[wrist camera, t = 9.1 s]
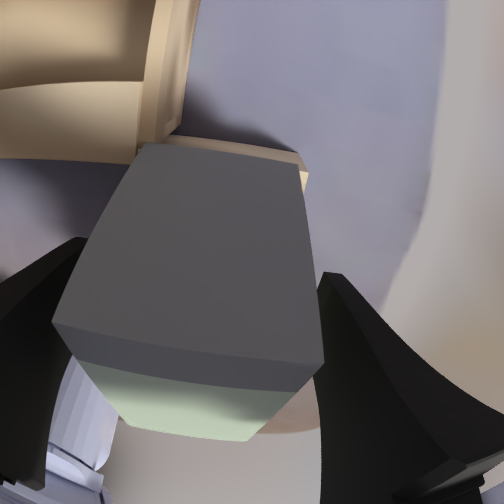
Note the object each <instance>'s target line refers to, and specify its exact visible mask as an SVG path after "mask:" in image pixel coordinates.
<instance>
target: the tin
mask: <svg viewBox="0 0 504 504" xmlns="http://www.w3.org/2000/svg"><path fill="white" fill-rule="evenodd" d="M51 322H52V323H53V325H54V327H55V328H56V330H57V331H58V333H59V335H60V336H61V338H62V339H63V341H64V342H65V344H66V345H67V347H68V348H69V350H70V351H71V353H72V354H73V356H74V357H75V358H76V360H77V361H78V363H79V364H80V365H81V367H82V368H83V370H84V371H85V372H86V374H87V375H88V376H89V378H90V379H91V380H92V382H93V383H94V384H95V386H96V387H97V388H98V389H99V391H100V392H101V393H102V394H103V396H104V397H105V398H106V399H107V401H108V402H109V403H110V404H111V405H112V407H113V408H114V409H115V410H116V411H117V413H118V414H119V415H120V416H121V417H122V418H123V420H124V421H125V422H126V423H127V424H128V425H129V426H134V427H139V428H144V429H149V430H154V431H159V432H165V433H171V434H178V435H185V436H192V437H200V438H208V439H217V440H228V441H243V442H246V441H247V440H248V439H249V438H250V437H251V436H253V435H254V434H255V433H256V432H257V431H258V430H259V429H260V428H261V427H262V426H263V425H264V424H265V423H267V422H268V421H269V420H270V419H271V418H272V417H273V416H274V415H275V414H276V413H277V412H278V411H279V410H280V409H281V408H282V407H283V406H284V405H285V404H286V403H287V402H288V401H289V400H290V399H291V398H292V397H293V396H294V395H295V394H296V393H297V392H298V391H299V390H300V389H301V388H302V387H303V386H304V385H305V384H306V382H307V381H308V380H309V379H310V378H311V377H312V376H313V375H314V374H315V373H316V372H317V371H318V370H319V368H320V367H321V366H322V365H323V364H324V353H323V342H322V332H321V322H320V313H319V304H318V296H317V287H316V279H315V271H314V264H313V256H312V249H311V242H310V235H309V228H308V221H307V215H306V209H305V202H304V196H303V190H302V184H301V178H300V172H299V167H298V164H293V163H288V162H283V161H278V160H272V159H267V158H261V157H255V156H249V155H243V154H237V153H230V152H223V151H216V150H209V149H202V148H194V147H186V146H177V145H168V144H158V143H148V142H145V144H144V145H143V147H142V148H141V150H140V151H139V153H138V154H137V156H136V158H135V159H134V161H133V162H132V164H131V165H130V167H129V169H128V170H127V172H126V173H125V175H124V177H123V178H122V180H121V182H120V183H119V185H118V187H117V188H116V190H115V192H114V193H113V195H112V197H111V199H110V200H109V202H108V204H107V206H106V207H105V209H104V211H103V213H102V215H101V216H100V218H99V220H98V222H97V224H96V226H95V228H94V229H93V231H92V233H91V235H90V237H89V239H88V241H87V243H86V245H85V247H84V249H83V251H82V253H81V255H80V257H79V259H78V261H77V263H76V266H75V268H74V270H73V272H72V274H71V276H70V279H69V281H68V283H67V285H66V288H65V290H64V292H63V294H62V297H61V299H60V302H59V304H58V306H57V309H56V311H55V314H54V316H53V319H52V321H51Z"/></svg>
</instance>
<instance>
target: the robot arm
mask: <svg viewBox="0 0 504 504" xmlns="http://www.w3.org/2000/svg"><path fill="white" fill-rule="evenodd" d="M87 241H88V238H82V237H75V238H73V239H71V240H69V241H67V242H65V243H64V244H62V245H60V246H59V247H57V248H55V249H54V250H52V251H51V252H49V253H47V254H46V255H44V256H43V257H41V258H40V259H38V260H36V261H35V262H33V263H32V264H30V265H29V266H27V267H26V268H24V269H22V270H21V271H19V272H18V273H16V274H14V275H13V276H11V277H10V278H8V279H6V280H5V281H3V282H2V283H0V504H114V502H113V501H112V498H111V496H110V493H109V492H108V490H107V489H106V488H104V487H103V486H102V482H103V477H104V476H103V475H101V474H99V473H97V472H95V471H96V470H98V469H99V468H100V467H101V466H102V465H103V464H104V463H105V462H106V460H107V458H108V456H109V453H110V449H111V445H112V441H113V436H114V432H115V428H116V424H117V420H118V416H119V414H118V413H117V411H116V410H115V409H114V408H113V407H112V405H111V404H110V403H109V402H108V401H107V399H106V398H105V397H104V396H103V394H102V393H101V392H100V391H99V389H98V388H97V387H96V386H95V384H94V383H93V382H92V380H91V379H90V378H89V376H88V375H87V374H86V372H85V371H84V370H83V368H82V367H81V365H80V364H79V363H78V361H77V360H76V358H75V357H74V356H73V354H72V353H71V351H70V350H69V348H68V347H67V345H66V344H65V342H64V341H63V339H62V338H61V336H60V335H59V333H58V331H57V330H56V328H55V327H54V325H53V323H52V322H51V321H52V319H53V316H54V314H55V311H56V309H57V306H58V304H59V302H60V299H61V297H62V294H63V292H64V290H65V288H66V285H67V283H68V281H69V279H70V276H71V274H72V272H73V270H74V268H75V266H76V263H77V261H78V259H79V257H80V255H81V253H82V251H83V249H84V247H85V245H86V243H87ZM317 296H318V304H319V313H320V322H321V332H322V342H323V353H324V364H323V365H322V366H321V367H320V368H319V370H318V371H317V372H316V373H315V374H314V375H313V380H314V385H315V390H316V396H317V401H318V407H319V415H320V429H321V460H322V463H321V467H322V468H321V495H320V504H504V482H502V483H500V484H499V485H497V486H495V487H493V488H491V489H489V490H487V491H486V492H483V493H481V494H480V490H479V487H480V486H482V485H484V483H485V481H484V478H483V474H484V473H486V472H487V471H489V470H491V469H492V468H494V467H495V466H497V465H498V464H500V463H501V462H503V461H504V414H502V413H500V412H498V411H496V410H494V409H492V408H490V407H489V406H487V405H485V404H483V403H482V402H480V401H478V400H477V399H475V398H474V397H472V396H471V395H469V394H467V393H466V392H464V391H463V390H462V389H460V388H459V387H457V386H456V385H454V384H453V383H452V382H450V381H449V380H448V379H446V378H445V377H444V376H443V375H441V374H440V373H438V372H437V371H436V370H435V369H434V368H433V367H431V366H430V365H429V364H428V363H427V362H426V361H425V360H423V359H422V358H421V357H420V356H419V355H418V354H417V353H416V352H414V351H413V350H412V349H411V348H410V347H409V346H408V345H407V344H406V343H405V342H404V341H403V340H402V339H401V338H400V337H399V336H398V335H397V334H396V333H395V332H394V331H393V330H392V329H391V327H390V326H389V325H388V324H387V323H386V322H385V321H384V320H383V319H382V318H381V317H380V315H379V314H378V313H377V312H376V311H375V310H374V309H373V308H372V306H371V305H370V304H369V303H368V302H367V301H366V300H365V298H364V297H363V296H362V295H361V294H360V293H359V292H358V291H357V289H356V288H355V287H354V286H353V285H352V284H351V283H350V282H349V281H348V280H347V279H346V278H345V277H344V276H343V275H342V274H338V273H331V272H323V275H322V278H321V280H320V283H319V286H318V288H317Z"/></svg>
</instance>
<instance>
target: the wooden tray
mask: <svg viewBox="0 0 504 504" xmlns="http://www.w3.org/2000/svg"><path fill="white" fill-rule="evenodd" d="M199 5H200V0H0V158H2V159H47V160H69V161H86V162H101V163H114V164H126V165H131V164H132V162H133V161H134V159H135V158H136V156H137V154H138V147H143V145H144V144H145V142H148V143H158V144H159V143H160V142H161V141H162V140H164V139H165V138H166V137H167V136H168V135H169V134H170V133H171V132H172V131H173V130H175V129H176V128H177V127H178V126H179V125H180V124H181V118H182V110H183V102H184V94H185V87H186V80H187V73H188V66H189V60H190V54H191V48H192V42H193V36H194V30H195V25H196V20H197V15H198V9H199Z"/></svg>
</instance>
